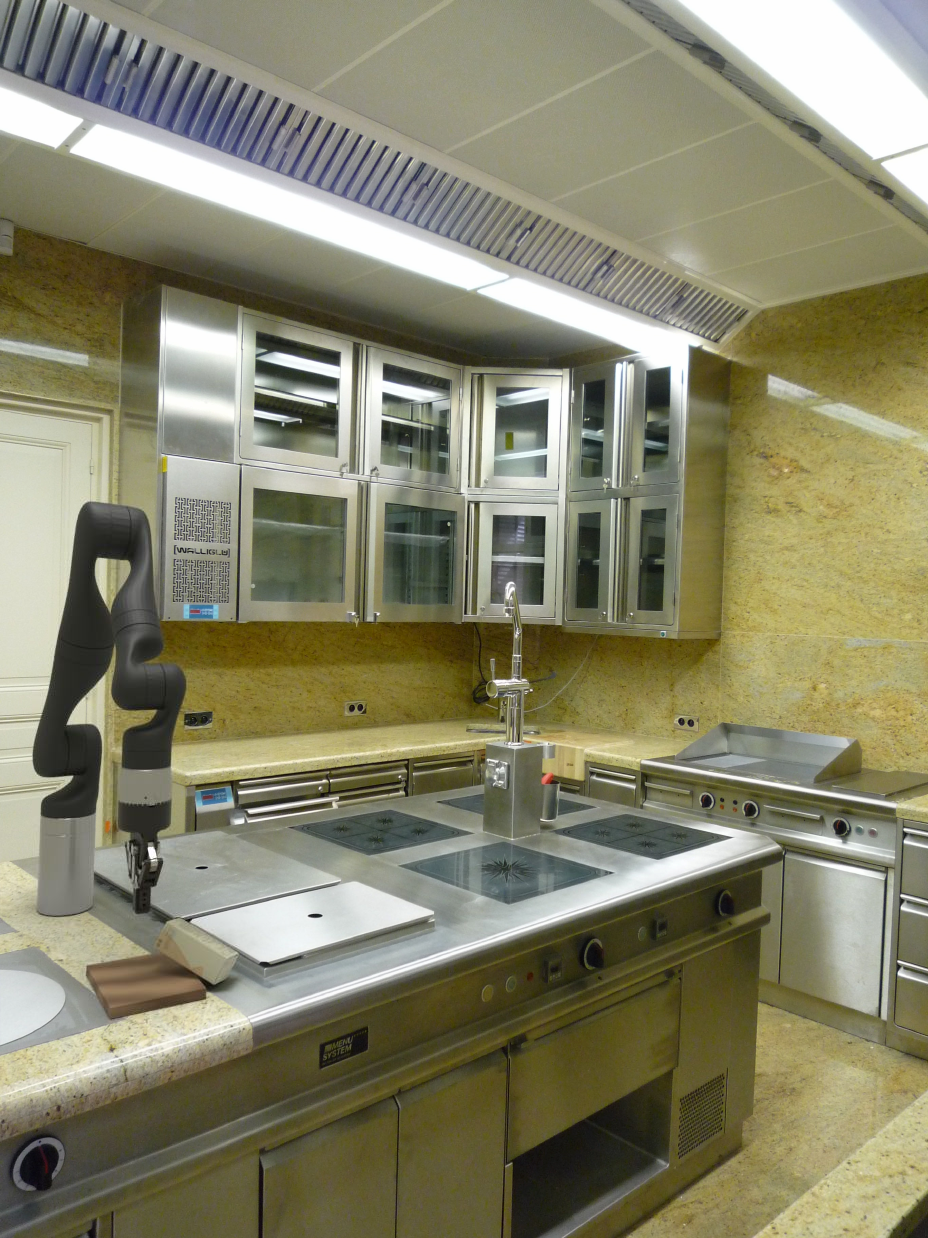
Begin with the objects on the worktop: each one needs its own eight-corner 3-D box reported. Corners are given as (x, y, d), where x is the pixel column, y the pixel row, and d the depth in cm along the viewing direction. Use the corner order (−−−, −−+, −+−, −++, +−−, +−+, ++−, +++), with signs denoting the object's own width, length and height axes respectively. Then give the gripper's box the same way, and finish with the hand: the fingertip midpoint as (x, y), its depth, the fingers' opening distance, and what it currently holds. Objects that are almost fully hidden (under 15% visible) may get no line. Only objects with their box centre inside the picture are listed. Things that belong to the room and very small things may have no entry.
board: (85, 975, 131) (86, 965, 131) (173, 959, 139) (174, 950, 139) (110, 1019, 118) (110, 1008, 118) (205, 998, 125) (206, 988, 125)
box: (151, 947, 130) (212, 986, 127) (166, 920, 130) (227, 958, 128) (167, 943, 135) (226, 980, 132) (181, 917, 135) (240, 953, 133)
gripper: (108, 790, 135) (105, 903, 135) (130, 807, 124) (125, 930, 124) (158, 786, 139) (155, 896, 139) (183, 802, 128) (179, 921, 128)
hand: (141, 912), depth 131 cm, fingers closed
